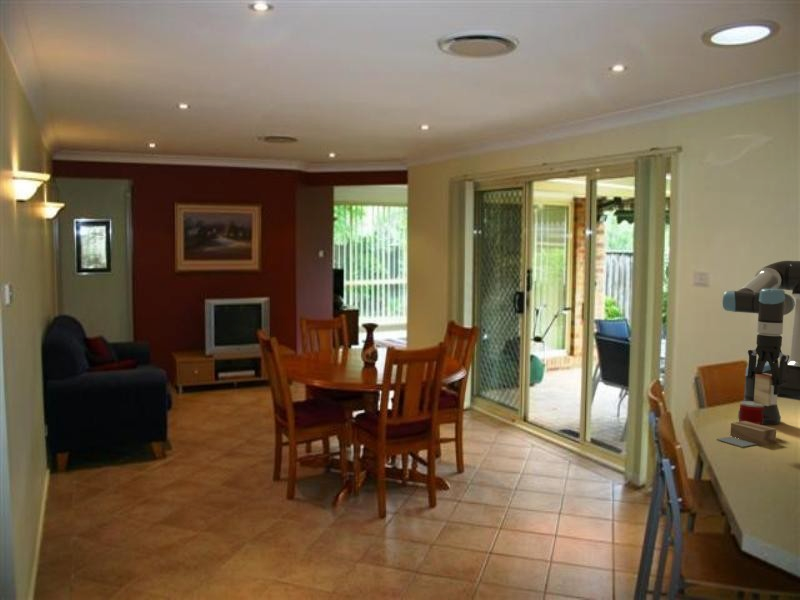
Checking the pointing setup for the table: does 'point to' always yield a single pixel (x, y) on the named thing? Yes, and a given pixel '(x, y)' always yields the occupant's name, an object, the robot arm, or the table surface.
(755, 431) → the step
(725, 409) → the table surface
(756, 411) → the canned food
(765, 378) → the block
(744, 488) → the table surface
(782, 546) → the table surface
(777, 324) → the robot arm
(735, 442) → the mat
